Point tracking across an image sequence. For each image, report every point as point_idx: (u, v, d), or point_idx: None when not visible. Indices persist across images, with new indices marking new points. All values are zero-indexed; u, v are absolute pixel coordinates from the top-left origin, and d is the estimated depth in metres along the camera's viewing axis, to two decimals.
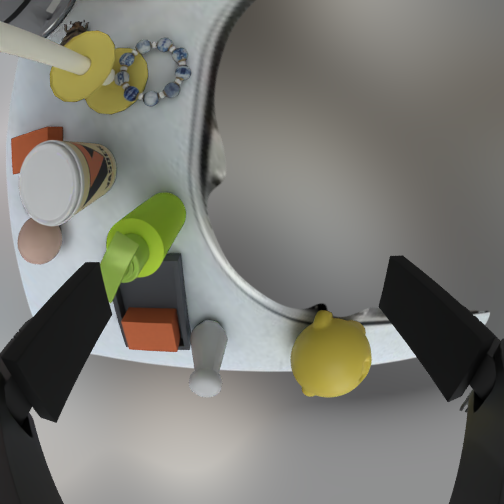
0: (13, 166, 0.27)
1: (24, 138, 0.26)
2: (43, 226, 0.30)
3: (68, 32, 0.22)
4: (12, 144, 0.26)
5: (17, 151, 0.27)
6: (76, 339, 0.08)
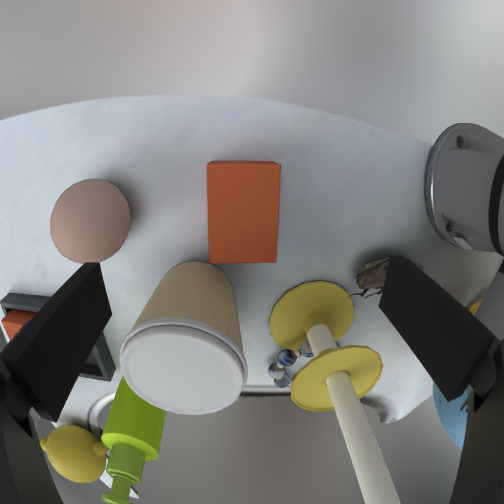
0: (224, 166, 0.20)
1: (270, 203, 0.21)
2: (111, 253, 0.21)
3: None
4: (269, 168, 0.20)
5: (250, 183, 0.21)
6: (76, 339, 0.08)
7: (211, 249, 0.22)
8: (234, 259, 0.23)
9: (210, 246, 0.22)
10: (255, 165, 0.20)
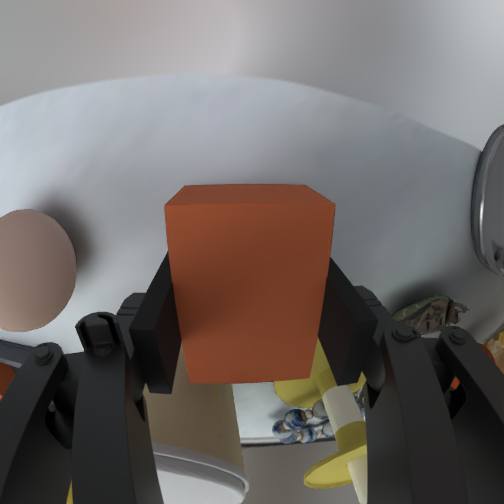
0: (203, 209, 0.09)
1: (308, 287, 0.10)
2: (51, 318, 0.12)
3: (451, 305, 0.18)
4: (309, 212, 0.09)
5: (266, 246, 0.09)
6: None
7: (189, 365, 0.11)
8: (234, 379, 0.11)
9: (187, 361, 0.11)
10: (278, 206, 0.09)
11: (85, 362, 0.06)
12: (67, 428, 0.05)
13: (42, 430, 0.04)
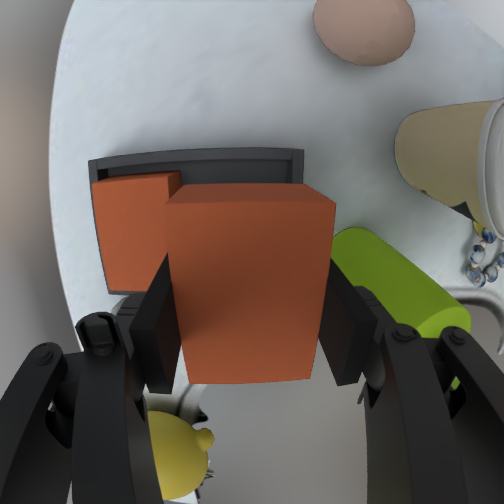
0: (203, 207, 0.08)
1: (308, 287, 0.10)
2: (403, 52, 0.13)
3: None
4: (310, 211, 0.09)
5: (266, 246, 0.09)
6: None
7: (189, 365, 0.11)
8: (234, 379, 0.11)
9: (187, 361, 0.11)
10: (279, 205, 0.09)
11: (85, 362, 0.06)
12: (67, 428, 0.05)
13: (42, 430, 0.04)
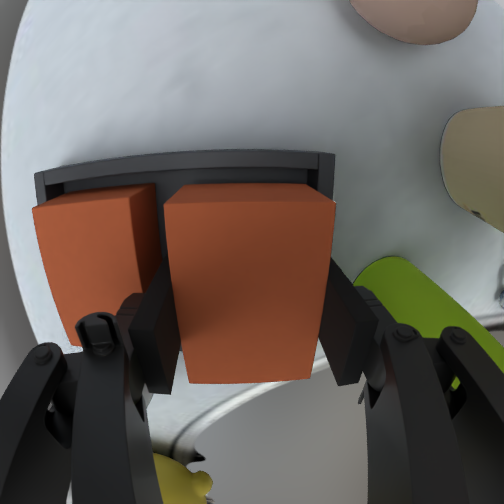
0: (203, 208, 0.08)
1: (308, 287, 0.10)
2: (463, 31, 0.07)
3: None
4: (310, 211, 0.09)
5: (266, 245, 0.09)
6: None
7: (189, 365, 0.11)
8: (234, 379, 0.11)
9: (187, 361, 0.11)
10: (279, 205, 0.09)
11: (84, 362, 0.06)
12: (66, 428, 0.05)
13: (42, 430, 0.04)
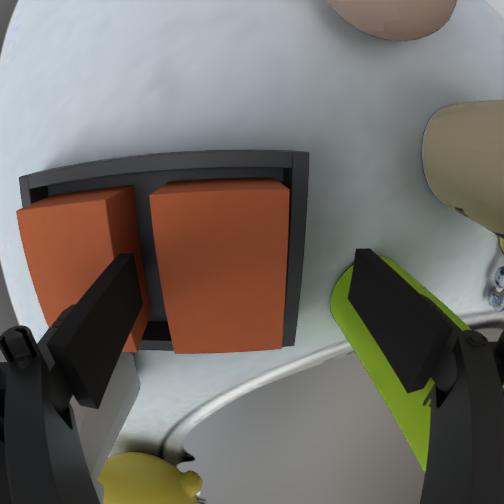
0: (180, 197, 0.10)
1: (270, 262, 0.12)
2: (443, 25, 0.07)
3: None
4: (267, 197, 0.11)
5: (232, 226, 0.11)
6: (115, 326, 0.09)
7: (174, 335, 0.13)
8: (213, 348, 0.13)
9: (172, 331, 0.13)
10: (241, 192, 0.11)
11: (10, 375, 0.04)
12: None
13: None
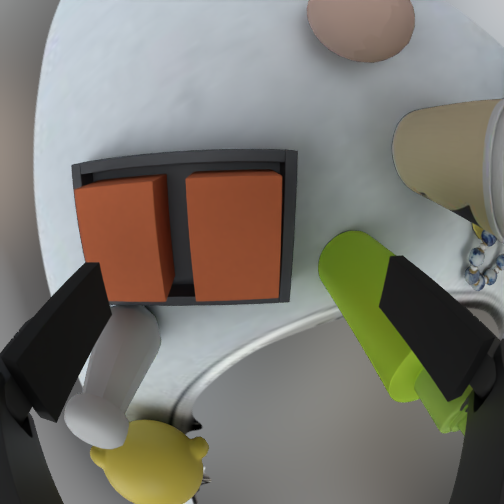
0: (207, 180, 0.15)
1: (269, 226, 0.17)
2: (402, 48, 0.12)
3: None
4: (267, 181, 0.16)
5: (243, 201, 0.16)
6: (76, 339, 0.08)
7: (197, 285, 0.18)
8: (226, 296, 0.18)
9: (195, 282, 0.18)
10: (249, 177, 0.15)
11: None
12: None
13: None
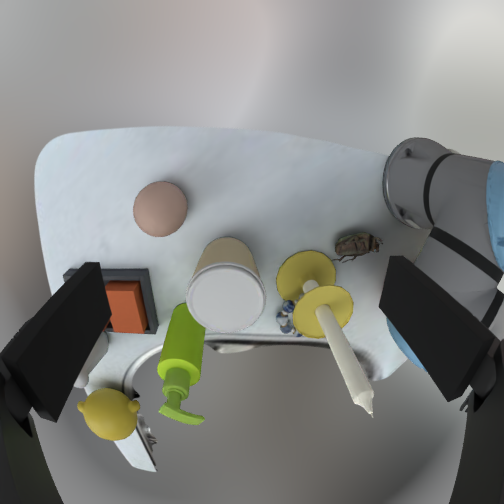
0: (109, 291, 0.38)
1: (133, 308, 0.39)
2: (176, 229, 0.35)
3: (372, 239, 0.40)
4: (128, 292, 0.38)
5: (122, 299, 0.39)
6: (76, 339, 0.08)
7: (113, 326, 0.40)
8: (124, 331, 0.41)
9: (112, 325, 0.40)
10: (122, 291, 0.38)
11: None
12: None
13: None
